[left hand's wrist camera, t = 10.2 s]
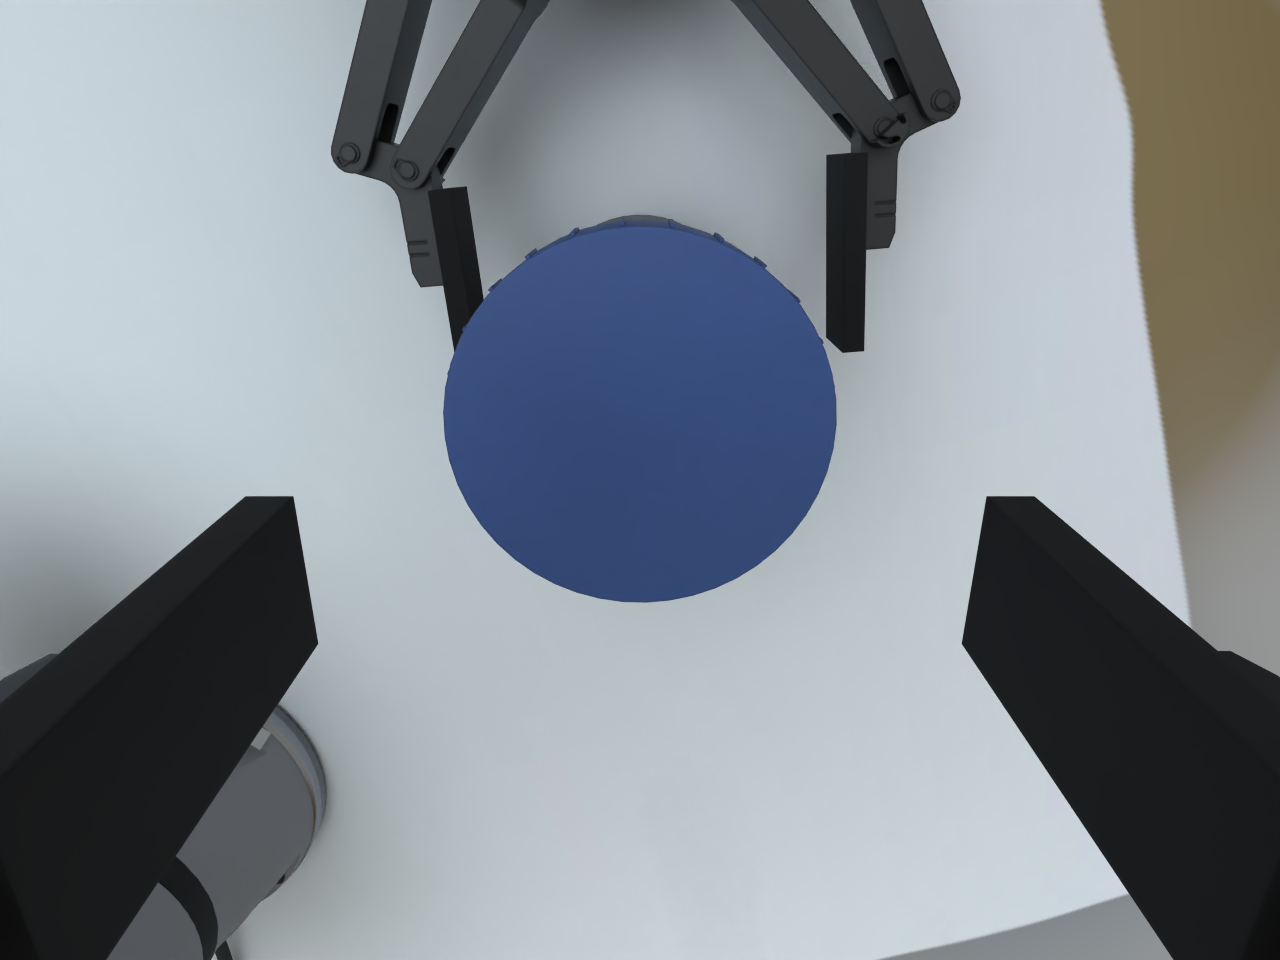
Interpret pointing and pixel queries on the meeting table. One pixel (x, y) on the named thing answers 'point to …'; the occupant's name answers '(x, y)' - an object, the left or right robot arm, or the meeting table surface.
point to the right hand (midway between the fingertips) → (659, 360)
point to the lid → (640, 412)
